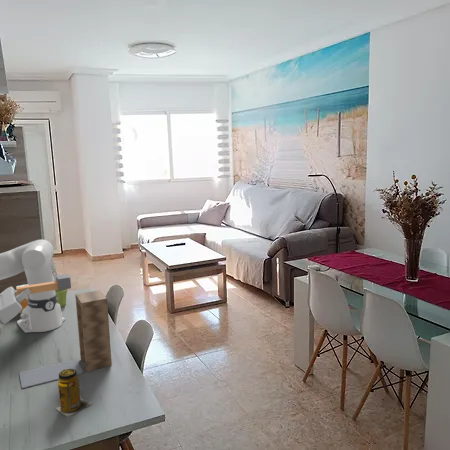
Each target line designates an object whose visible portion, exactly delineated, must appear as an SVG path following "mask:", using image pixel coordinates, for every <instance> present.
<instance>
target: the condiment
mask: <svg viewBox="0 0 450 450" xmlns="http://www.w3.org/2000/svg"><path fill="white" fill-rule="evenodd" d="M57 385H58V386H57V387H58V395H59V406H57V407H54V408H55V410H57V411H58V412H59V413H61V414H62V415H64V416H66V417H67V418H68V417H70V416H72V415H75V414H76V413H78V412H79V411H82V410H83V409H84V410H85V408H87V407H89V406H91V405H92V403H91V402H90V401H87V400H86V399H84V398H82V396H81V390H80V389H81V388H80V380H79V377H78V375H77V372H76V370H75V369H65V370H63V371H61V372H60V373H59V380H58V383H57Z"/></svg>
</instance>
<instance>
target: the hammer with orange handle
mask: <svg viewBox="0 0 450 450" xmlns="http://www.w3.org/2000/svg"><path fill="white" fill-rule="evenodd" d="M55 279H56V280H54V281H53V282H47V283H40V284H34V285H27V286H21V285H20V286H21V287H16V286H15V289H16V288H17V295H19V294H21V293H22V292H23V290H25V289H26V288H29V289H30V291H31V293H30V294H33V293H39V292H45V291H51V290H57V289H59V290H64V289H68V290H69V289H72V283H71V282H72V281H71V276H70V275H69V273H64V274H57V275H55Z"/></svg>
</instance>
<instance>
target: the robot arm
mask: <svg viewBox="0 0 450 450" xmlns="http://www.w3.org/2000/svg"><path fill="white" fill-rule="evenodd" d="M54 251H55V250H54V246H53V244H52V243H51V242H50V241H49V240H47V239H36V240H33V241H30V242H28V243H27V242H26V243H25V244H22V245H20V246H17V247H14V248H12V249H10V250H7V251H4V252H1V253H0V281H1V280H5V279H8V278H11V277H14V276H16V275H18V274H21V273H23V272H24V273H25V277H26V282H27V284H28V285H34V284H40V283H47V282H53V281H55V277H54V274H53V269H52V266H51V265H52V263H51V261H52V260H51V259H52V258H53V256H54ZM24 285H25V286H27V285H26V284H24ZM30 293H31V291H30V289H29V288H26V289H25V290H23V292H22V293H21V294H19V295H17V290H16V288H14V287H13V286H8V287H7V288H5V289H4V290H3V291H1V293H0V330H1V329H2V328H4V327H5V324H7V323H9V322H10V321H11V320H12V319H14V318H15V317H16V316H18V314H20V311H21V310H22V307H21V303H20V302H21V301H23V300H24V298H25V297H26V296H27V295H29V297H27V298H28V306H27V307H26V308H25V309H24V310H23V311H22V314H20V319H19V320H17V321H16V322H17V325H18V326H19V327H20V329H21V330H22V331H23V332H24V333H25V334H27V333H43V332H49V331H53V330H57V329H58V328H59V327H61V326H62V325H63V322H65V320H66V318H65V317H63V314H62V307H60V304H58V303H57V295H56V293H55V290H51V291H45V292H39V293H33V294H30Z"/></svg>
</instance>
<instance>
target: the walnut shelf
mask: <svg viewBox="0 0 450 450" xmlns="http://www.w3.org/2000/svg"><path fill="white" fill-rule="evenodd" d="M74 296H75V297H74V298H75V307H76V309H75V310H76V319H77V329H78V330H77V331H78V333H77V334H78V342H79V356H80V361H81V362H83V361H85V363H84V364H85V370H86V372H91V371H95V370H98V369H103V368H107V367H111V366H113V365H112V363H113V362H112V352H111V350H112V349H111V336H110V321H109V306H108V298H107V296H106V295H105V294H104V293H103V292H102V291H101V290H100V289H98V290H93V291H87V292H82V293H81V292H80V293H75V295H74Z"/></svg>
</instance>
